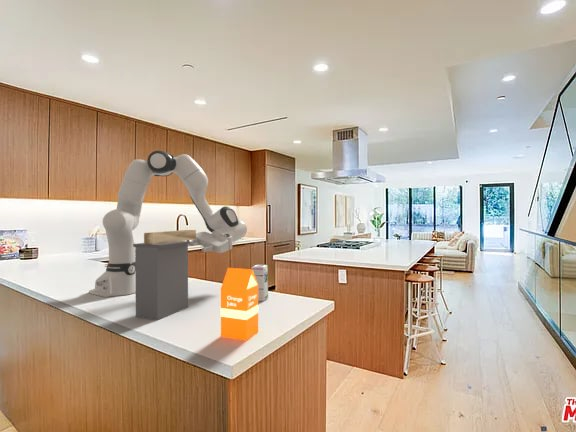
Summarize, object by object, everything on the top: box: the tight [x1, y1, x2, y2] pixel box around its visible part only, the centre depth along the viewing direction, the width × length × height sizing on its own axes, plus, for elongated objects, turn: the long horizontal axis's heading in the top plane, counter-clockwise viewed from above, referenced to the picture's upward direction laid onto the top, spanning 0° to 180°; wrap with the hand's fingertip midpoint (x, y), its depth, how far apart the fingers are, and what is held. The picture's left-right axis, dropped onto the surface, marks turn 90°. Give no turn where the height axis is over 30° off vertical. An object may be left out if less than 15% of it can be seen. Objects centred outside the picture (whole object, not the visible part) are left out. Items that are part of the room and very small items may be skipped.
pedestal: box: [133, 240, 191, 321], centre depth 118 cm, size 12×16×26 cm
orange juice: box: [220, 267, 259, 342], centre depth 96 cm, size 8×9×20 cm
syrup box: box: [250, 264, 269, 302], centre depth 136 cm, size 6×6×14 cm
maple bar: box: [143, 229, 197, 244], centre depth 123 cm, size 4×24×4 cm, turn 159°
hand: (196, 247), depth 142 cm, fingers open, 8 cm apart
